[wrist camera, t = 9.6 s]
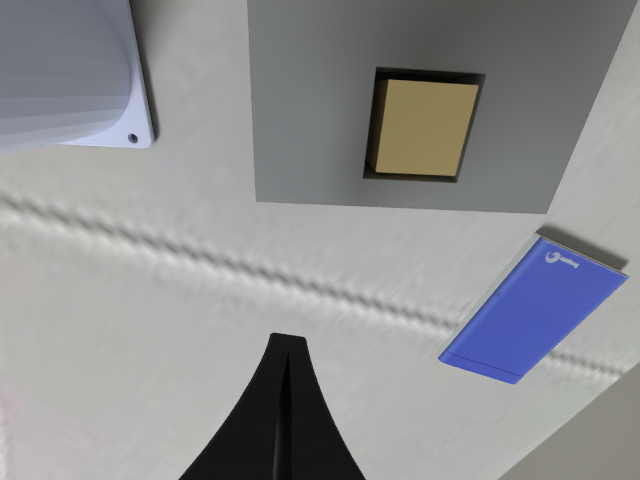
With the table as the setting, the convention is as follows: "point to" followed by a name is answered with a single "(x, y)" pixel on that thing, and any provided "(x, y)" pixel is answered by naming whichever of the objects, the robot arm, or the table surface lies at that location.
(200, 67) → the table surface
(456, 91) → the brass button
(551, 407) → the table surface
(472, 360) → the hard drive
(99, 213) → the table surface
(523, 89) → the panel
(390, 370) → the table surface
